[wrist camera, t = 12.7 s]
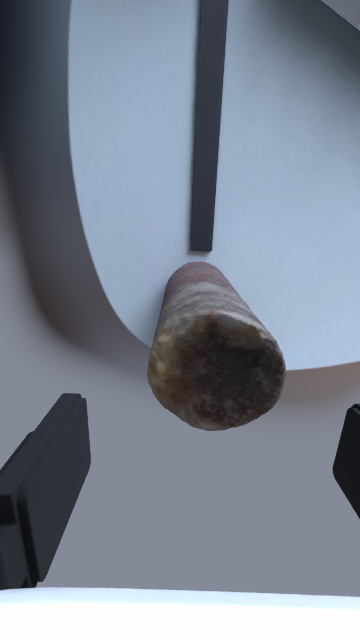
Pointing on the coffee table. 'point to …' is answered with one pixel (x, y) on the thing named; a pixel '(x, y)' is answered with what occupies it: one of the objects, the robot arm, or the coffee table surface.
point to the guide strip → (208, 120)
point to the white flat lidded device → (346, 10)
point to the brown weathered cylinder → (212, 353)
